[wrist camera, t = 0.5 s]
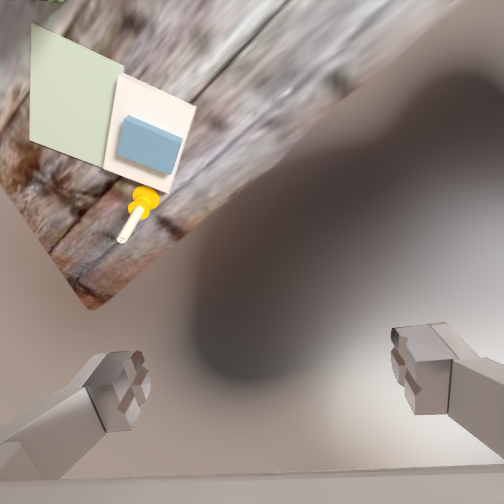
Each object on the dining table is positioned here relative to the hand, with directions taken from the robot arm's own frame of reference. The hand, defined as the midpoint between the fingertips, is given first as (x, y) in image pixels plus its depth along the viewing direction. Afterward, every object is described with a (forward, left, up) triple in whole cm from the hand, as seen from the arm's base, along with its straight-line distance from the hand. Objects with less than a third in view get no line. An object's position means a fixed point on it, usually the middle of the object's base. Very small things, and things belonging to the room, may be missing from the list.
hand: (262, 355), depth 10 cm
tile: (+14, -12, -47) cm, 50 cm away
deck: (+14, -13, -49) cm, 53 cm away
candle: (+26, -11, -49) cm, 57 cm away
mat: (+14, -26, -49) cm, 57 cm away
